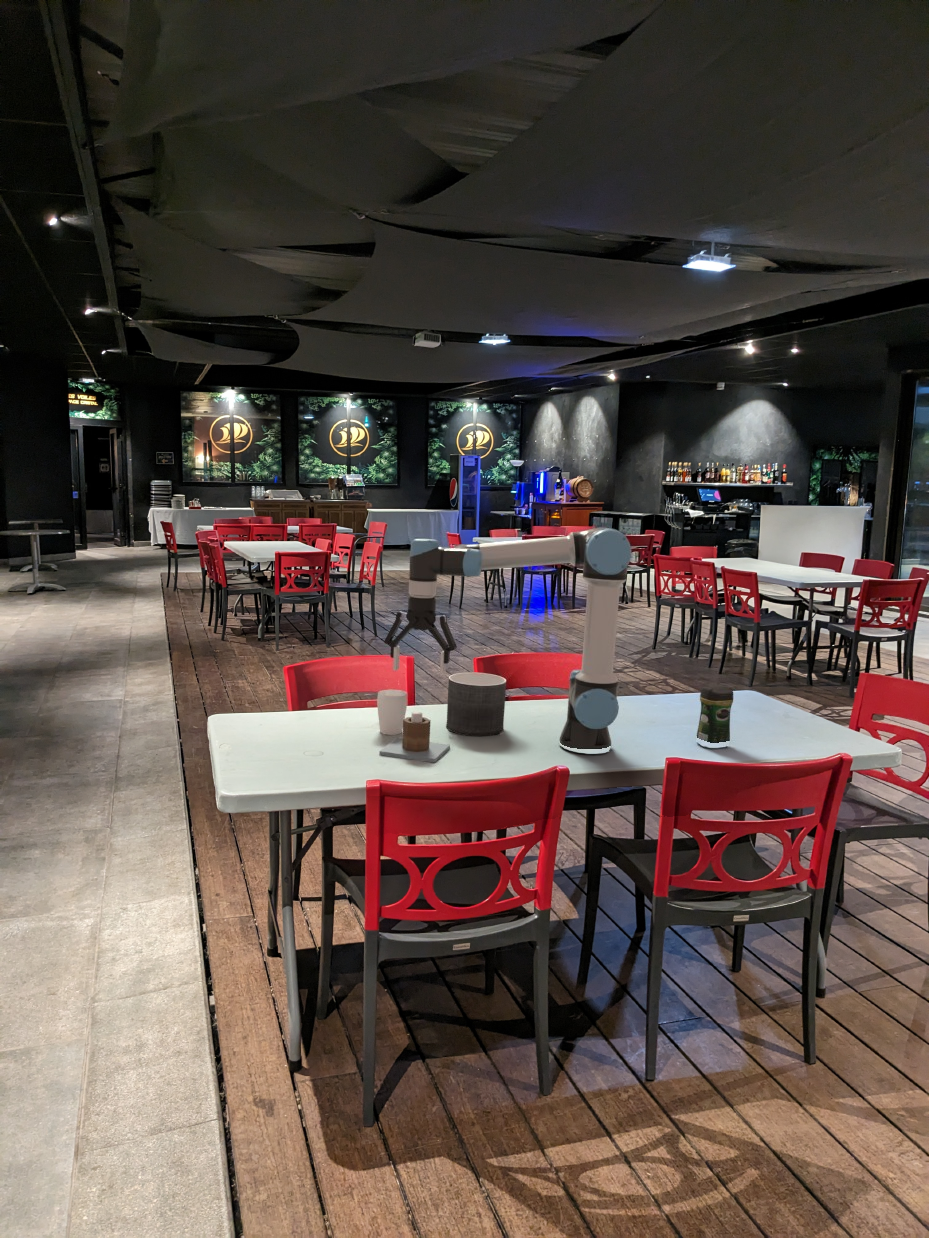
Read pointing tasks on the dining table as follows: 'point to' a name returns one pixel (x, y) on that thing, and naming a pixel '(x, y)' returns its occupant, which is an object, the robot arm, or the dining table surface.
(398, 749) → the post block
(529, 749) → the dining table surface
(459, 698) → the planter
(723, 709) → the coffee jar
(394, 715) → the cup
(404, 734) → the collar
